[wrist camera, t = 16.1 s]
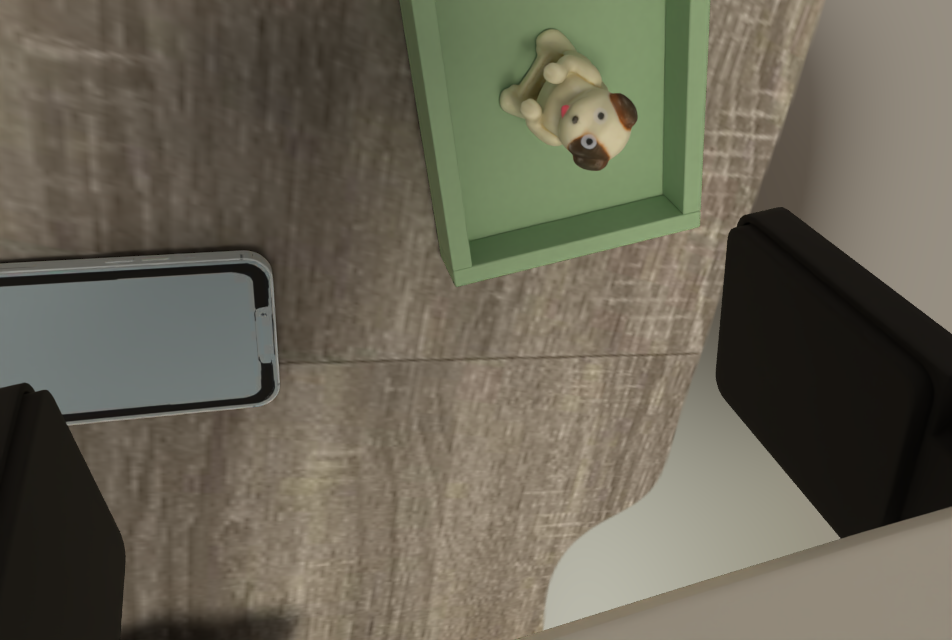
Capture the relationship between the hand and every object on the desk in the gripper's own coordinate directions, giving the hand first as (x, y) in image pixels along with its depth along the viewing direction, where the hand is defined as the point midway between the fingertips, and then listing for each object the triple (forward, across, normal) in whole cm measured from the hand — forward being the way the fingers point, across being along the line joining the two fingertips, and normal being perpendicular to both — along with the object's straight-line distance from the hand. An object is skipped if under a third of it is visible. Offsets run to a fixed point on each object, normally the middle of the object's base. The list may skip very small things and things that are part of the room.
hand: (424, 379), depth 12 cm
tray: (+21, -9, +5) cm, 24 cm away
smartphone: (+22, +10, +11) cm, 27 cm away
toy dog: (+21, -9, +5) cm, 23 cm away
